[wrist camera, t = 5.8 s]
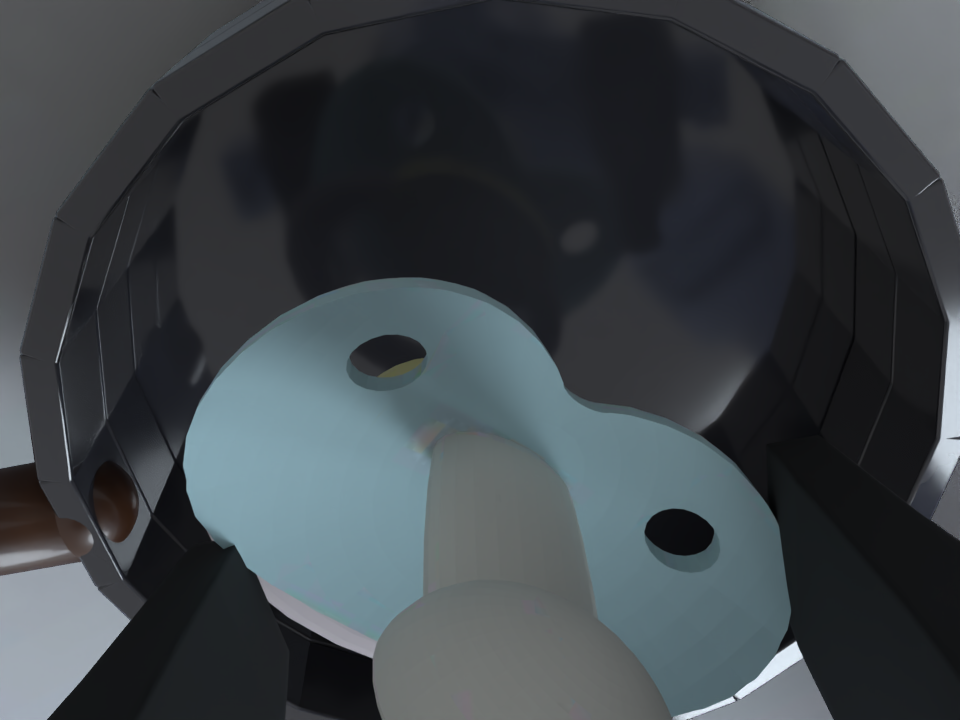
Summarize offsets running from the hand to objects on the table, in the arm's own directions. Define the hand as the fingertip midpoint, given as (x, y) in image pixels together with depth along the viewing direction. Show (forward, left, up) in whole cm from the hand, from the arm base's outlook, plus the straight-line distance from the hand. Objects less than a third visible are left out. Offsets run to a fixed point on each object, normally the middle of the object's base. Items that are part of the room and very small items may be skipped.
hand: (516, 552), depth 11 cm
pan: (0, 0, -5) cm, 5 cm away
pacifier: (+1, 0, -2) cm, 2 cm away
